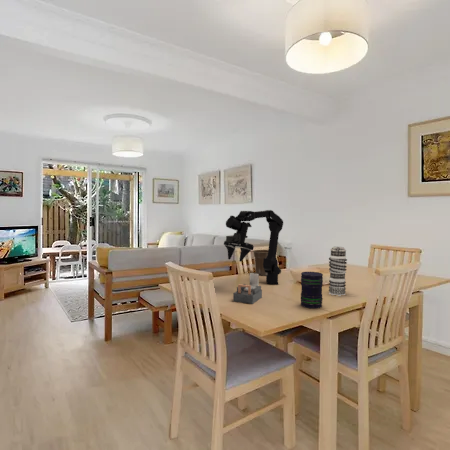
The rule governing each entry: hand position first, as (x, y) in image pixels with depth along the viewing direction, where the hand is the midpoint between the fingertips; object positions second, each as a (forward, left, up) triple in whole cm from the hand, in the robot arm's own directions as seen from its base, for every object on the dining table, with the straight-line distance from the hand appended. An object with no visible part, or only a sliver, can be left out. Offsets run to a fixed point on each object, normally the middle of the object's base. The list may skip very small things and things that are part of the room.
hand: (234, 260), depth 179 cm
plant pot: (-17, -50, -17) cm, 55 cm away
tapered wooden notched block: (-9, +12, -12) cm, 20 cm away
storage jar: (-38, +22, -17) cm, 47 cm away
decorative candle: (-55, -1, -17) cm, 57 cm away
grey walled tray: (-8, +16, -17) cm, 25 cm away
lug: (-6, +20, -13) cm, 25 cm away
